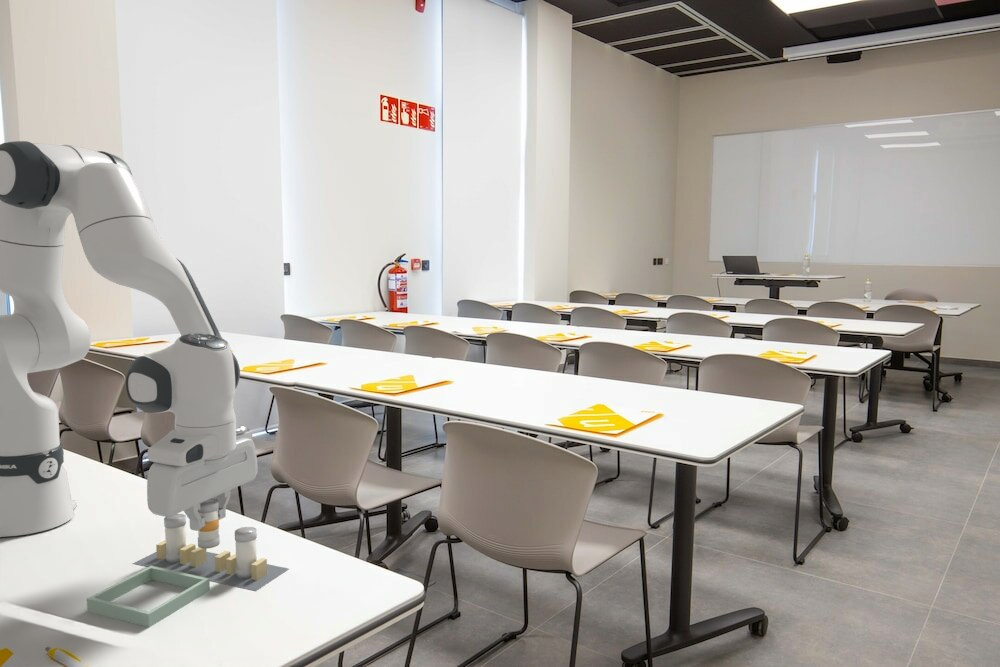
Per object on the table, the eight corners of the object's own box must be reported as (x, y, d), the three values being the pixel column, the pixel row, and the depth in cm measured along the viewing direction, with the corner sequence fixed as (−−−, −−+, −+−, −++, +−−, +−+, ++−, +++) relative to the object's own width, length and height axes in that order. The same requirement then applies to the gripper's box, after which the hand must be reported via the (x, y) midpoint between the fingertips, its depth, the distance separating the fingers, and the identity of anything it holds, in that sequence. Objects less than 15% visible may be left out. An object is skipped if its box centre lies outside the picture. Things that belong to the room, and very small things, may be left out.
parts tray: (87, 619, 100) (86, 598, 100) (151, 584, 111) (151, 565, 110) (149, 635, 96) (148, 614, 96) (210, 597, 107) (209, 578, 106)
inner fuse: (161, 560, 116) (159, 519, 115) (176, 553, 119) (174, 512, 118) (176, 564, 115) (175, 522, 114) (191, 556, 118) (190, 515, 117)
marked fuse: (193, 546, 113) (192, 503, 112) (208, 538, 116) (207, 497, 115) (209, 549, 112) (208, 506, 111) (224, 542, 115) (223, 500, 114)
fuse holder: (133, 570, 115) (132, 549, 115) (171, 551, 122) (170, 530, 122) (256, 598, 107) (255, 575, 106) (289, 575, 114) (289, 554, 114)
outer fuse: (231, 576, 111) (230, 532, 110) (245, 567, 114) (244, 525, 113) (248, 580, 110) (247, 536, 109) (261, 571, 113) (260, 528, 112)
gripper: (235, 421, 123) (237, 499, 124) (137, 453, 104) (141, 544, 105) (266, 425, 121) (267, 504, 122) (172, 458, 102) (174, 552, 103)
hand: (208, 523), depth 114 cm, fingers closed on marked fuse, 3 cm apart
